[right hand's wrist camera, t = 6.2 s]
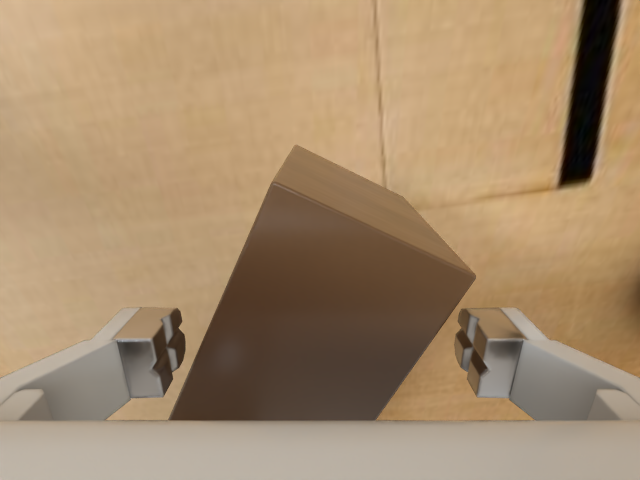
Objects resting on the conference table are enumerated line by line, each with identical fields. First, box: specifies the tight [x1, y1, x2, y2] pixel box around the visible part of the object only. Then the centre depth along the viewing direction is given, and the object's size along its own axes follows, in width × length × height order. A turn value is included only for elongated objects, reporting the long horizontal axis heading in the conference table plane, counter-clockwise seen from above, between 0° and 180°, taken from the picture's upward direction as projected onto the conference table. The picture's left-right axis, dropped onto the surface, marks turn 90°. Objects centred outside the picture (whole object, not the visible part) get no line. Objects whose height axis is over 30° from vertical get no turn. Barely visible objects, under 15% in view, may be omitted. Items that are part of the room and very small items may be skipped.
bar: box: [168, 145, 476, 421], centre depth 17 cm, size 28×6×8 cm, turn 154°
